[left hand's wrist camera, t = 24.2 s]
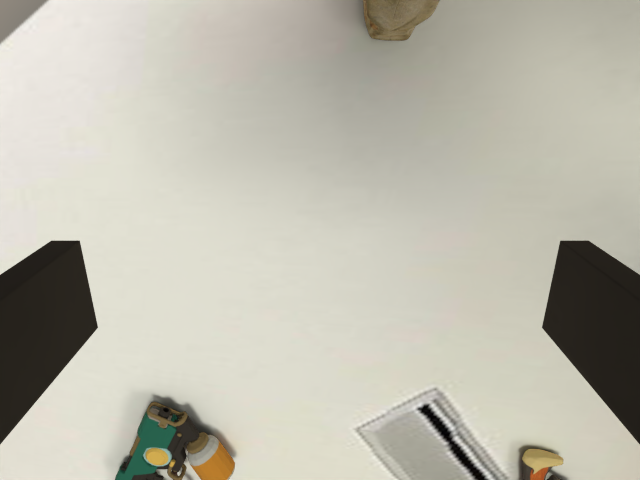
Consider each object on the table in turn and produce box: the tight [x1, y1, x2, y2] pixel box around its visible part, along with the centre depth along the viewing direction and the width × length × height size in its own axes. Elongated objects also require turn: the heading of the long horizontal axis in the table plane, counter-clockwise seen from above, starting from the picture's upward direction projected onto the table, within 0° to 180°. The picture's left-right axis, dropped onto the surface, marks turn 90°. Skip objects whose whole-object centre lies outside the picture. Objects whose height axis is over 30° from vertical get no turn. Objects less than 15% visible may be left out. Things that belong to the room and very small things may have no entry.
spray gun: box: [115, 402, 235, 480], centre depth 57 cm, size 4×17×15 cm
